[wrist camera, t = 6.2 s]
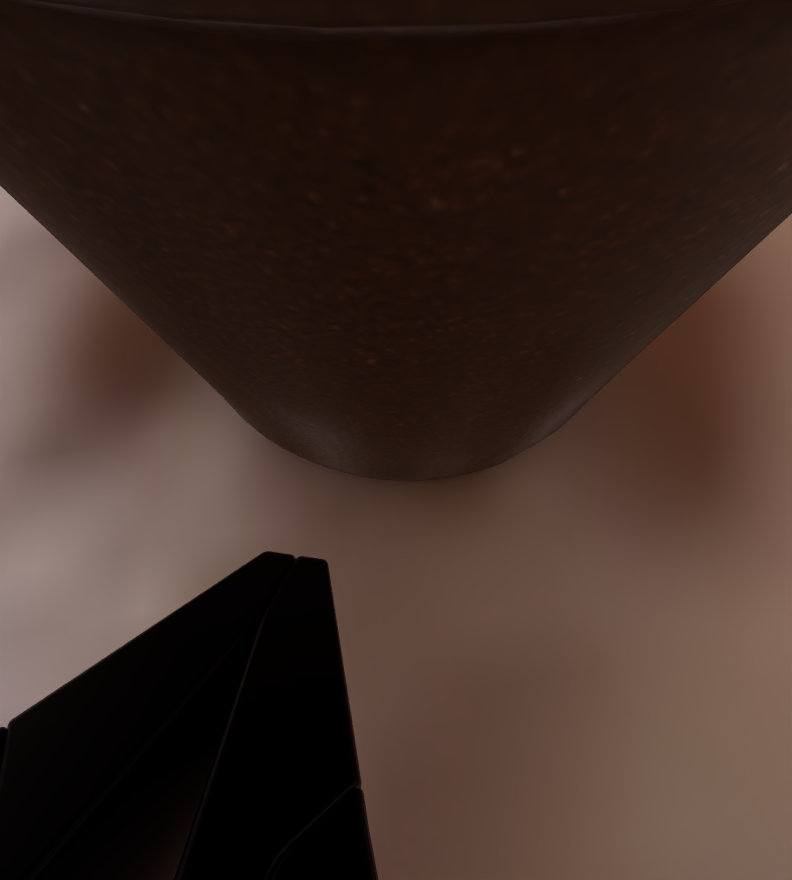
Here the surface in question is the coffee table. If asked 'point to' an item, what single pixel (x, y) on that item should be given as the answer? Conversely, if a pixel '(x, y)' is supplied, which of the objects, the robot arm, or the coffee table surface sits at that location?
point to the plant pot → (402, 196)
